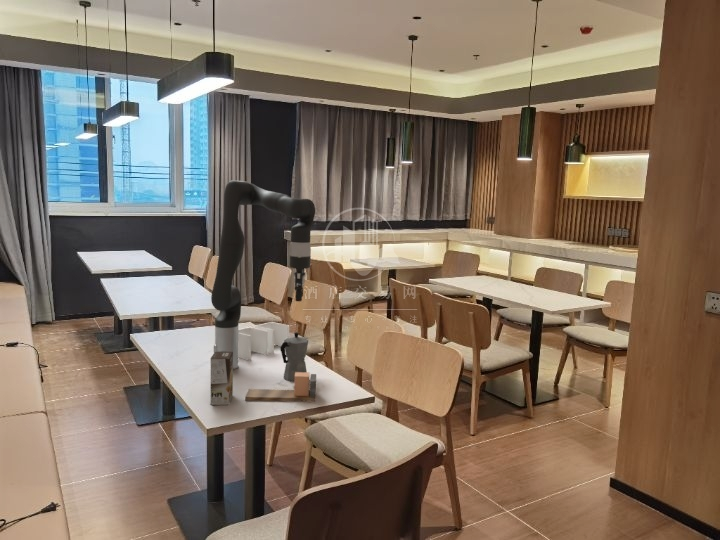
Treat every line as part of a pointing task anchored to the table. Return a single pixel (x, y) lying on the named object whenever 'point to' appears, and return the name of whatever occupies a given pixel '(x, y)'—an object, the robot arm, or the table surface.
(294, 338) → the coffeepot
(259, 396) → the rail
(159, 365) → the table surface
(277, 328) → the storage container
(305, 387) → the tan tall block
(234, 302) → the robot arm
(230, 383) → the coffee box
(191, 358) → the table surface
